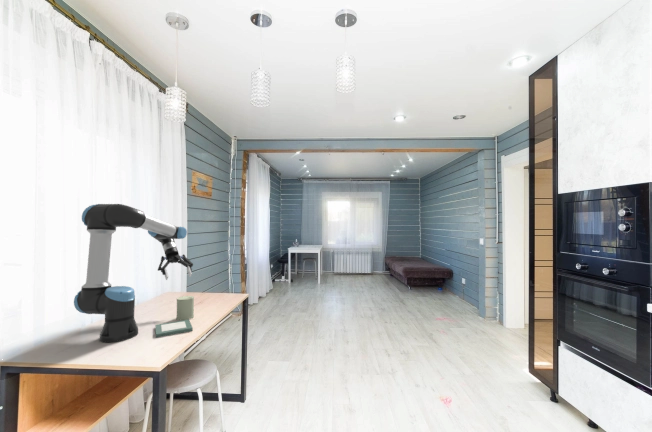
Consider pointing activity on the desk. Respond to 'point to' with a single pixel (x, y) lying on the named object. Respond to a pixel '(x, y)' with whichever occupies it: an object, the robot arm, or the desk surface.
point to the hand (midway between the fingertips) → (179, 276)
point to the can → (185, 308)
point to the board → (173, 328)
